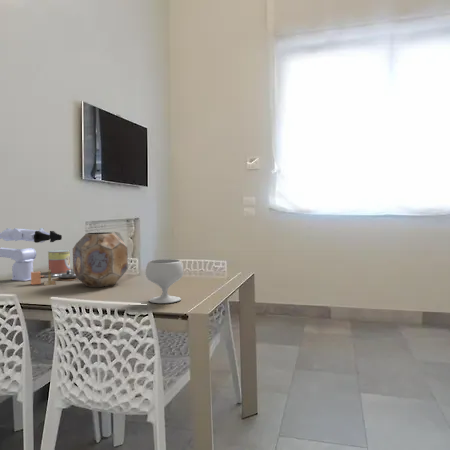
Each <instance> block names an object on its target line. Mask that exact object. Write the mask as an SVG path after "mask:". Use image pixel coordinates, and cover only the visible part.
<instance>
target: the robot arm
mask: <svg viewBox="0 0 450 450" xmlns="http://www.w3.org/2000/svg"><path fill="white" fill-rule="evenodd" d="M62 237H63V236H62V235H61V234H60V233H57V232H56V231H55V230H50V231H49V232H47V231H45V230H44V228H43V227H41V228H39V229H28V228H25V227H24V228H18V227H15V228H11V227H9V228H5V229H4V230H2V232H1V231H0V240H1V239H2V240H3V241H6V242H8V241H14V242H17V241H25V242H34V243H37V244H38V243H40V244H42V243H45V242H47V241H50V242H49V243H54V242H56V241H61V240H62V239H63V238H62ZM36 257H37V251H36V249H35V248H34V247H27V248H11V247H1V248H0V258H4V259H5V258H6V259H11V260H13V261H15V262H14V263H13V264H12V268H11V269H12V270H11V271H12V275H11V276H12V278H10V280H12V281H19V282H21V281H22V282H26V281H31V272H34V261H35V259H36Z"/></svg>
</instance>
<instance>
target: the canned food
mask: <svg viewBox="0 0 450 450" xmlns="http://www.w3.org/2000/svg"><path fill="white" fill-rule="evenodd" d="M47 254H48V255H47V256H48V257H47V259H48V261H47V262H48V270H49V269H51V275H58V274H60V273H67V270H70V269H71V253H70V249H56V250H55V249H54V250H48V251H47Z"/></svg>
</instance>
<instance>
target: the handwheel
mask: <svg viewBox="0 0 450 450" xmlns="http://www.w3.org/2000/svg"><path fill="white" fill-rule="evenodd" d="M60 274H61V275H62V276H61V277H57V278H62V279H67V278H76V275H75V273H74V272H73V268H70V270H67V273H60Z"/></svg>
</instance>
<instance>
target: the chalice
mask: <svg viewBox="0 0 450 450" xmlns="http://www.w3.org/2000/svg"><path fill="white" fill-rule="evenodd" d="M183 275H184V267H183V263H182V262H181V260H180V259H172V258H171V259H170V258H169V259H167V258H164V259H163V258H162V259H152V260H149V261H148V263H147V264H146V268H145V276H146V279H147V280H148V281H150V282H151V283H153V284H155V285H157V286H159V288H161V291H162V294H161V295H158V296H154V297H150V298H149V299H148V301H149V302H150V303H153V304H172V303H177V302H180V301H181V300H182V298H181V297H179V296H175V295H170V294H168V293H169V292H168V290H169V288H170V287H171V286H172V285H174V284H175V283H176V282H178V281H179V280H181V279H182V278H183Z"/></svg>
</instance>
